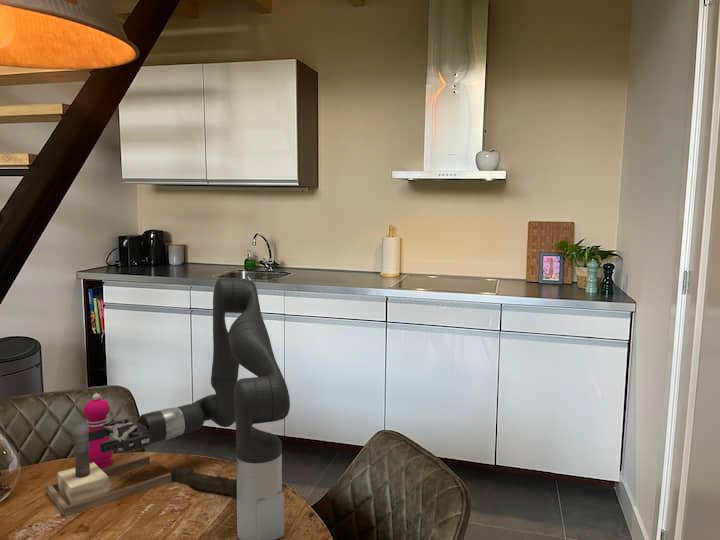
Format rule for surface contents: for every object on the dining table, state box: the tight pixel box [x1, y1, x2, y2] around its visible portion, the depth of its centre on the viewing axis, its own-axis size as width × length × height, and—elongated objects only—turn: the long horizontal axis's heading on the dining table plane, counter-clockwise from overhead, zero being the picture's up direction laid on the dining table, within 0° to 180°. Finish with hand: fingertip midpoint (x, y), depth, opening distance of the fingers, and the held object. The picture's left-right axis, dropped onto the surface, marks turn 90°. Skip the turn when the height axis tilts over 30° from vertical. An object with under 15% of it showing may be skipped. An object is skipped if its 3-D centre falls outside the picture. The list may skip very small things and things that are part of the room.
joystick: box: [57, 421, 111, 505], centre depth 131 cm, size 10×8×17 cm
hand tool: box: [169, 466, 237, 499], centre depth 138 cm, size 19×4×5 cm, turn 70°
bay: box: [45, 455, 173, 518], centre depth 136 cm, size 14×24×3 cm, turn 133°
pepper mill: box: [83, 393, 115, 469], centre depth 147 cm, size 7×7×20 cm
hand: (93, 442), depth 132 cm, fingers open, 8 cm apart
